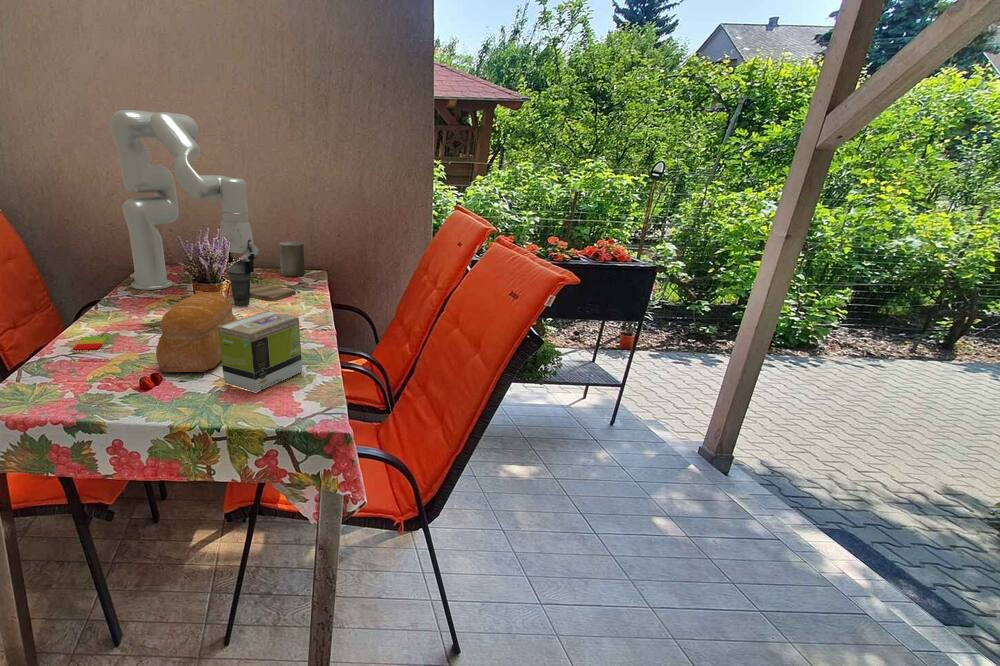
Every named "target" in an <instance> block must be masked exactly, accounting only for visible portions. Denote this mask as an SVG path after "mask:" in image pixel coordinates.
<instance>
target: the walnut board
mask: <svg viewBox="0 0 1000 666" xmlns="http://www.w3.org/2000/svg"><path fill="white" fill-rule="evenodd" d="M296 293H297V292H296V290H293V289H288V288H282V287H278V286H271V285H265V284H261V283H253V284H250V298H252V297H253V298H252V299H257V298H258V300H263V301H268V302H272V301H273V302H277V301H280V300H283V299H286V297H287V298H289V296H290V297H293V296H296V295H295V294H296ZM292 295H293V296H292Z"/></svg>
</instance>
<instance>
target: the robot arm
mask: <svg viewBox="0 0 1000 666" xmlns="http://www.w3.org/2000/svg"><path fill="white" fill-rule="evenodd" d="M109 127H110V132H111V136H112V138H113V142H114V143H115V146H116V149H117V153H118V159H119V165H120V166H119V167H120V171H121V178H122V182H123V186H124V187H125V189H126V190H127V191H129V192H131V193H134V194H135V193H136V194H152V193H153V194H154V196H139V197H138V196H137V197H132V198H127V200H125V201H124V202H123V203H122V208H121V209H122V214H123V218H124V220H125V223H126V226H127V229H128V234H129V241H130V246H131V254H132V260H133V262H132V263H133V268H134V272H133V273H130V275H129V276H130V278H133V279H134V281H132V282H131V283H130V284H131V287H132V288H133V289H136V290H140V291H141V290H142V291H143V290H144V291H145V290H146V291H149V290H151V291H152V290H162V289H168V288H170V287H172V286H173V281H172V280H169V279H168V278H167V268H166V261H165V260H166V259H165V253H164V251H165V250H164V244H163V238H162V235H161V233H160V231H159V230H158V229H157V228H156V227H155V225H162V224H163V225H164V224H170V223H171V224H172V223H174V222H175V221H176V220H178V218H179V214H180V213H179V212H180V211H179V209H180V208H179V201H178V195H177V187H176V181H177V182H178V183H179V184H180V185H181V187H182V188H183V189H184V191H186V193H187V194H188V195H189V196H190V197H192V198H193V199H195V200H200V201H208V200H209V201H210V200H211V201H212V200H220V204H221V214H220V216H222V220H221V221H220V225H219V241H218V242H217V243H218V244H219V245H221V242H222V238H223V237H225V238H226V239H227V240H228V241H229V242H230V250H229V263H231V262H233V261H234V257H233V256H232V255H233V254H237V255H242V256H243V257H244V256H246V255H247V256H246V257H244V261H245V273H247V274H248V273H251V274H252V273H254V272H255V266H254V261H255V260H256V258H257V257H258V254H259V253H260V249H259V248H258V247H257V246H256V245H255V244H254V238H253V237H254V236H253V232H252V231H253V230H252V227H251V224H250V222H249V212H248V211H249V210H248V197H247V194H248V193H247V183H246V181H245V180H244V179H242V178H236V177H230V176H225V175H219V174H218V175H213V174H207V175H206V174H205V175H204V174H201V175H200V174H198V173H197V172H196V171H195V170H194V169H193V167H192V166H191V164H192V163H193V162H195V161H196V160H198V158H199V157H200V155H201V154H200V153H201V148H200V146H199V145H198V143H197V142H196V141H195V140H196V139H198V136H199V133H200V131H199V127H198V123H197V122H196V121H195V120H194V118H192V117H191V116H189V115H187V114H183V113H176V112H165V111H159V112H154V111H153V112H152V111H145V110H136V109H122V110H118V111H116V112H114V114H112V117H111V118H110V126H109ZM140 138H142V139H151V140H152V139H153V140H154V139H155V140H158V141H159V142H160V143H161V144H162V145H163V146H164V148H165V149H166V150H167V151H168V153H169V154H170V155H171V156H172V158H173V159H174V160H173V161H174V162H173V171H174V174H175V178H176V181H175V178H174V176H173V174H172V172H171V171H170V170H169V168H167V167H165V166H163V165H160V164H151V162H150V157H149V152H148V149H147V148H146V146H145V145H144V144H143V142H142V141H141V140H140ZM226 271H228V269H227V270H226Z"/></svg>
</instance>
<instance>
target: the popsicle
mask: <svg viewBox="0 0 1000 666" xmlns="http://www.w3.org/2000/svg"><path fill="white" fill-rule="evenodd" d="M101 333H102V334H103V333H104V332H101ZM107 340H108V341H109V338H108V336H102V337H97V336H87V337H86V336H85V337H82V338H81V339H80V340H79V341H78V342H77V344H75V345H74V347H73V348H72V351H73V350H76V351H77V350H79V351H80V350H82V351H83V350H88V351H89V350H98V349H100V348H101V347H102V345H103V344H104V343H105V342H106V341H107Z"/></svg>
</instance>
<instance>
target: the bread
mask: <svg viewBox="0 0 1000 666" xmlns="http://www.w3.org/2000/svg"><path fill="white" fill-rule="evenodd" d="M233 307H234V306H233V305H232V303H231V302H230V300H229V299H228V298H227V297H226V296H225V295H223V294H220V293H217V292H198V293H197V292H196V293H193V294H192V295H190V296H188V297H187V298H183V299H182V300H180V301H179V302H177V303H175V304H174V305H173V306H172V307H171V308H170V309H169V310H168V311H166V313H164V315H163V316H162V317H161V323H160V328H161V336H160V337H159V339H158V343H157V346H156V348H155V349H156V350H155V352H156V353H155V356H156V361H157V366H158V368H159V369H160V370H161V371H162V372H163V371H166V372H199V373H205V372H207V370H208V371H209V369H210V370H212V369H214V368H215V367H216V366H217V365H219V363H220V362H222V359H221V350H220V341H219V332H218V326H221V325H224V324H227V323H230V322H234V321H237V320H238V319H237V317H236V316H235V314H234V313H233ZM166 372H165V373H166Z"/></svg>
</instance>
